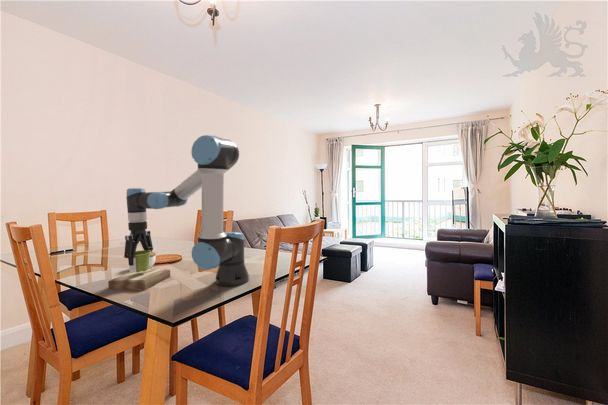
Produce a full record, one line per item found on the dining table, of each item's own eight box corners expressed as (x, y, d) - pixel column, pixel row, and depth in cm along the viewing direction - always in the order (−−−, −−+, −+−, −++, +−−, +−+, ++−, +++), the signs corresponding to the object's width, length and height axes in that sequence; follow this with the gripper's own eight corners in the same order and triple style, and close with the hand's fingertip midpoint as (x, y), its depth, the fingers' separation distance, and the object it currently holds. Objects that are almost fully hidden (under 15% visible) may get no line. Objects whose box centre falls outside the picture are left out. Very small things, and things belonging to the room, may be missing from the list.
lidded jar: (160, 265, 164) (159, 249, 163) (148, 270, 153) (147, 253, 152) (143, 265, 165) (142, 249, 164) (129, 270, 154) (128, 253, 153)
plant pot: (142, 274, 128) (140, 255, 128) (124, 273, 130) (123, 254, 130) (156, 268, 138) (155, 250, 137) (140, 267, 140) (138, 249, 139)
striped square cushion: (170, 276, 142) (169, 268, 141) (145, 290, 124) (145, 281, 124) (137, 275, 144) (137, 268, 144) (108, 288, 126) (108, 280, 126)
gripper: (146, 218, 143) (148, 262, 145) (111, 224, 122) (115, 276, 124) (159, 218, 142) (162, 262, 144) (127, 224, 121) (130, 276, 122)
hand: (140, 268), depth 134 cm, fingers closed on plant pot, 9 cm apart
